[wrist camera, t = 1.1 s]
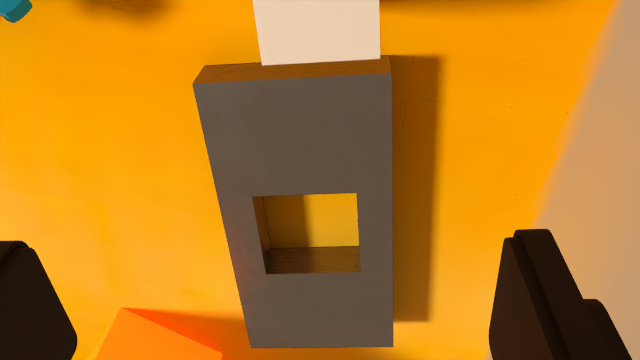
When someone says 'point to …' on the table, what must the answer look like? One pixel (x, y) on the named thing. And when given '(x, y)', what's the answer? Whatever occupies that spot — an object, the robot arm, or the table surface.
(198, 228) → the table surface
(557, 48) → the table surface
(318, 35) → the square peg
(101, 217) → the table surface
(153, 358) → the orange juice
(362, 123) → the grey peg hole board
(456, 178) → the table surface
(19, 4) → the teal plastic figure
